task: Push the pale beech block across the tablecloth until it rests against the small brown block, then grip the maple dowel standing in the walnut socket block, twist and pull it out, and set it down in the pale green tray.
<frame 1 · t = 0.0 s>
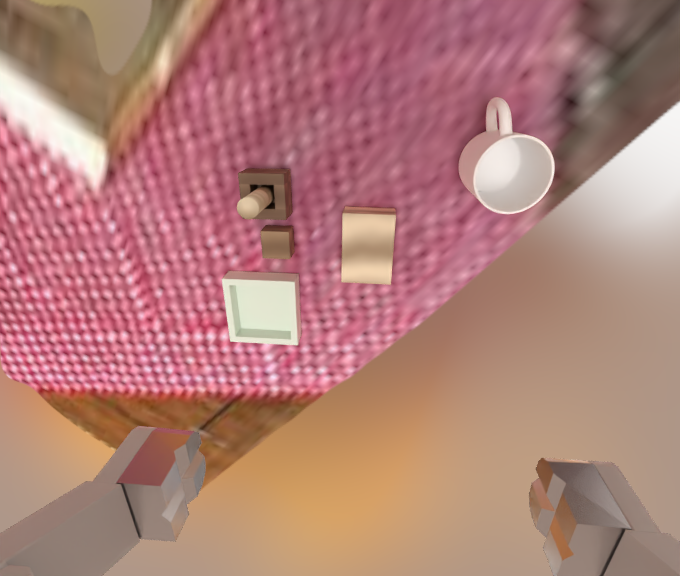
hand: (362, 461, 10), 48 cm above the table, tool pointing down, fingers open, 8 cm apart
small brown block: (280, 238, 58), on the table
dowel: (269, 191, 55), resting on socket block
board: (368, 240, 58), on the table
cup: (488, 148, 51), on the table
socket block: (270, 190, 55), on the table
tray: (266, 303, 63), on the table
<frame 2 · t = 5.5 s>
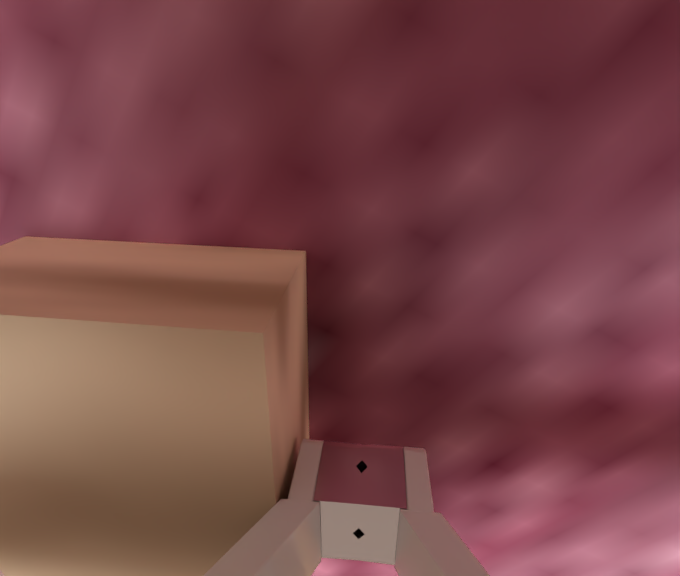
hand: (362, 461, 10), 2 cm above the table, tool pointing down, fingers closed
board: (196, 396, 12), on the table
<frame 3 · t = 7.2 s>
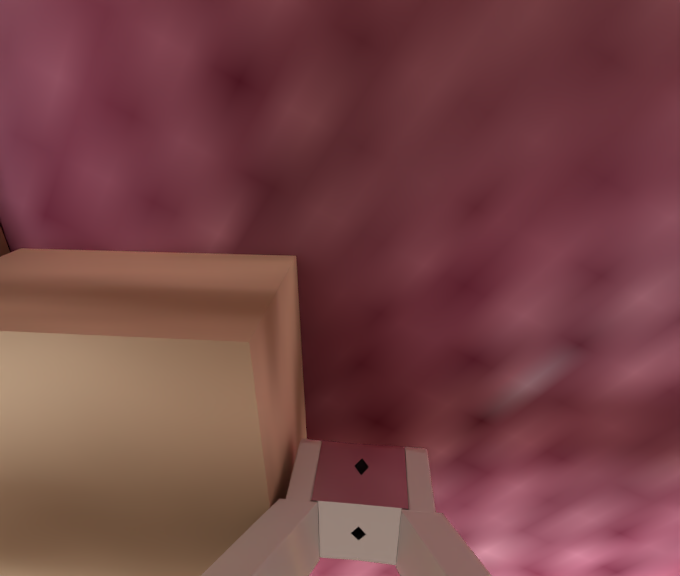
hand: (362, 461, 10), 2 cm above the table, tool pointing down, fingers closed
board: (193, 404, 12), on the table
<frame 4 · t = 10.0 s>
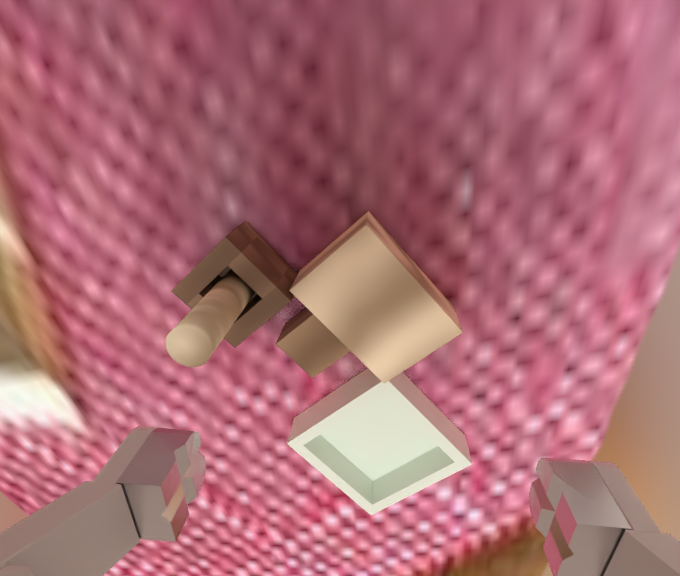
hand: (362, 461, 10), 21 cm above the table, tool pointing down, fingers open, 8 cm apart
small brown block: (318, 327, 32), on the table
dowel: (246, 276, 30), resting on socket block
board: (377, 287, 31), on the table
socket block: (248, 274, 31), on the table
tray: (378, 426, 36), on the table
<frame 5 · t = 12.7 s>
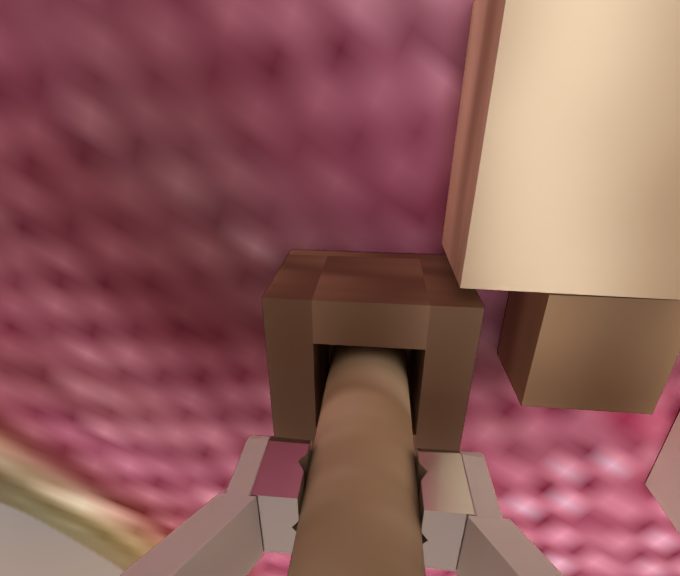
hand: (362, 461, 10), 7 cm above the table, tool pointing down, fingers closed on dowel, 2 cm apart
small brown block: (562, 310, 14), on the table
dowel: (370, 331, 15), point 1 cm above the table, touching gripper, socket block
board: (617, 140, 12), on the table
socket block: (370, 324, 16), on the table
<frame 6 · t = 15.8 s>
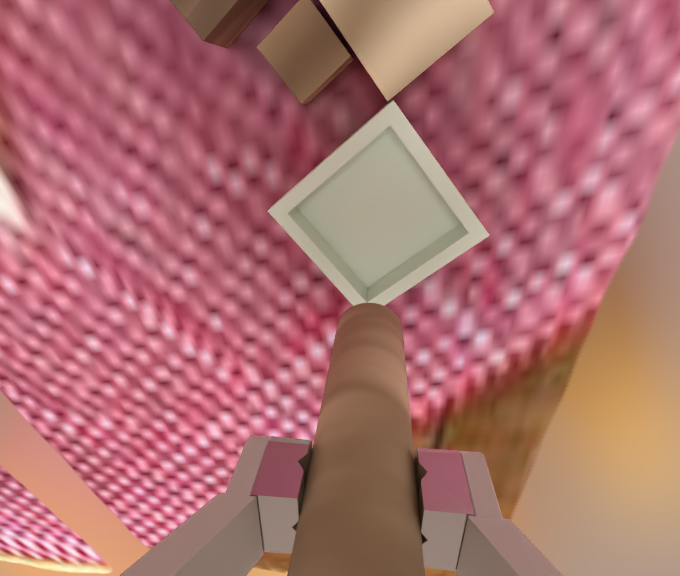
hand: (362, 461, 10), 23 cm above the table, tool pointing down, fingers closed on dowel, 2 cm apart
small brown block: (311, 55, 26), on the table
dowel: (369, 331, 15), point 17 cm above the table, touching gripper
tray: (377, 211, 30), on the table
when the fingers open (7 cm above the table, at t = 18.9 s): dowel stays where it is, resting on tray.
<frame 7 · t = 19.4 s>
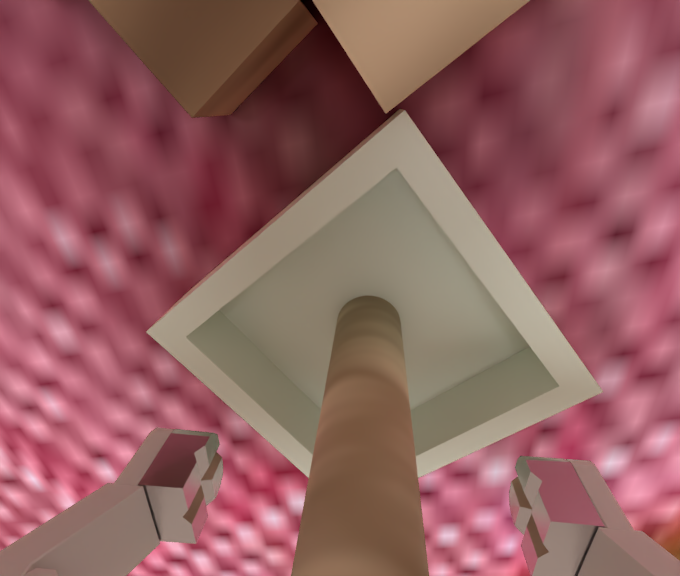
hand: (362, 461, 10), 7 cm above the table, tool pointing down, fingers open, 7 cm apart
small brown block: (227, 15, 12), on the table
dowel: (368, 324, 16), point 1 cm above the table, touching tray
tray: (370, 316, 16), on the table
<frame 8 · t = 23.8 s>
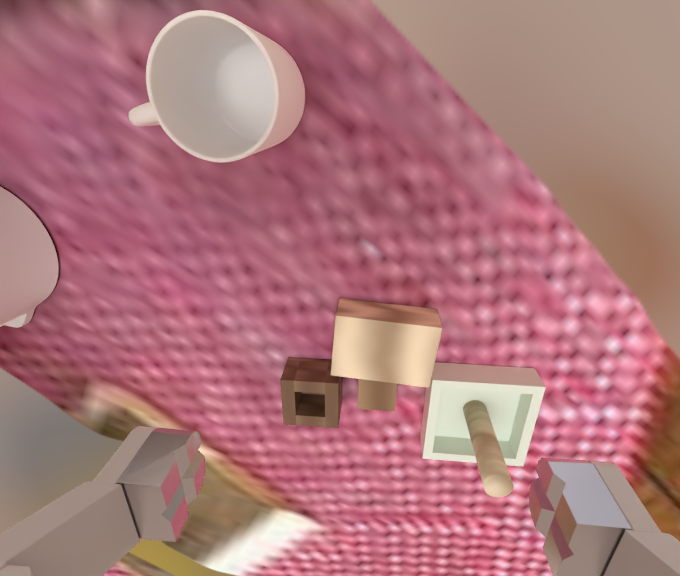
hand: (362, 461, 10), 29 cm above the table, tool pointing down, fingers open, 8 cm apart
small brown block: (377, 377, 44), on the table
dowel: (474, 408, 44), point 1 cm above the table, touching tray
board: (383, 331, 42), on the table
cup: (238, 100, 34), on the table
socket block: (315, 380, 45), on the table
tray: (473, 404, 45), on the table
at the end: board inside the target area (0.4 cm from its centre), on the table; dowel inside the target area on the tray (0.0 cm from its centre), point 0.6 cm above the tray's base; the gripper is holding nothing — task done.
